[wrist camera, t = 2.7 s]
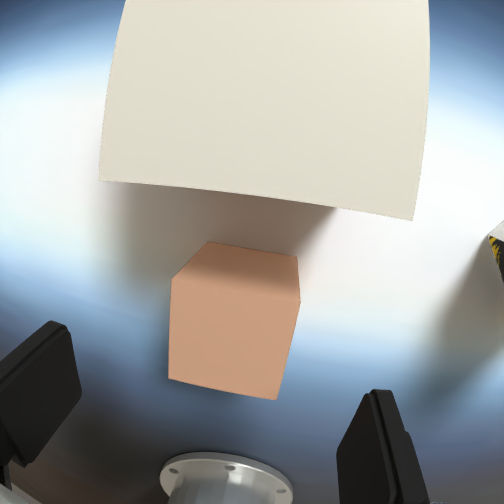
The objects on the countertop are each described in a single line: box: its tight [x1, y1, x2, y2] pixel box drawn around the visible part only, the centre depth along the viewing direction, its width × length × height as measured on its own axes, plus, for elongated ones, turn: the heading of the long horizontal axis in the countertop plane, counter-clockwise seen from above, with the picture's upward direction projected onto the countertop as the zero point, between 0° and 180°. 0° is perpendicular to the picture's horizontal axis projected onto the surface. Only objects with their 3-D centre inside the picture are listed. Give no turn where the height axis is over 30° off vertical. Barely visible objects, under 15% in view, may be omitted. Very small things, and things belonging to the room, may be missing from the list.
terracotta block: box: [169, 242, 301, 400], centre depth 16 cm, size 5×5×6 cm
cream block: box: [99, 0, 430, 221], centre depth 9 cm, size 9×9×4 cm
